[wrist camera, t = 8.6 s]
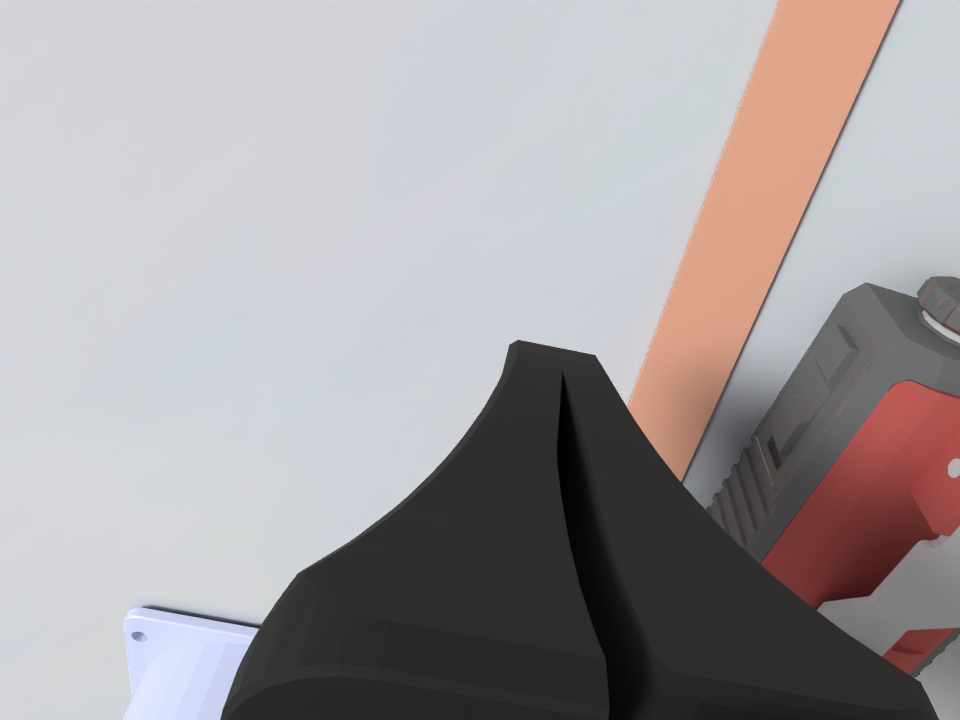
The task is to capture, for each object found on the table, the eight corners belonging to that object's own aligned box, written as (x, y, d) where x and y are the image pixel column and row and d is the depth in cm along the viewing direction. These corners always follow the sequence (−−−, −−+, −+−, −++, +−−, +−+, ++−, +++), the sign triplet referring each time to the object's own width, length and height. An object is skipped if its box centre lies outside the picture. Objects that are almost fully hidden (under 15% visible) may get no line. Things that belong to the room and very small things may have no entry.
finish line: (593, 686, 26) (604, 890, 21) (521, 673, 26) (515, 875, 21) (1318, -889, 9) (2343, -1858, 4) (1114, -945, 9) (1889, -2018, 4)
